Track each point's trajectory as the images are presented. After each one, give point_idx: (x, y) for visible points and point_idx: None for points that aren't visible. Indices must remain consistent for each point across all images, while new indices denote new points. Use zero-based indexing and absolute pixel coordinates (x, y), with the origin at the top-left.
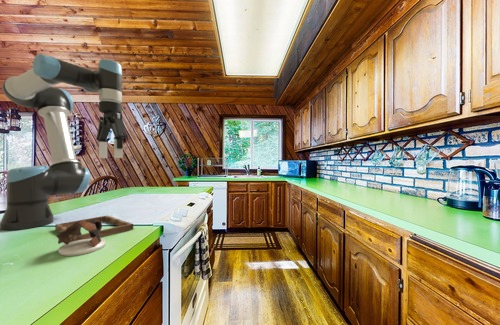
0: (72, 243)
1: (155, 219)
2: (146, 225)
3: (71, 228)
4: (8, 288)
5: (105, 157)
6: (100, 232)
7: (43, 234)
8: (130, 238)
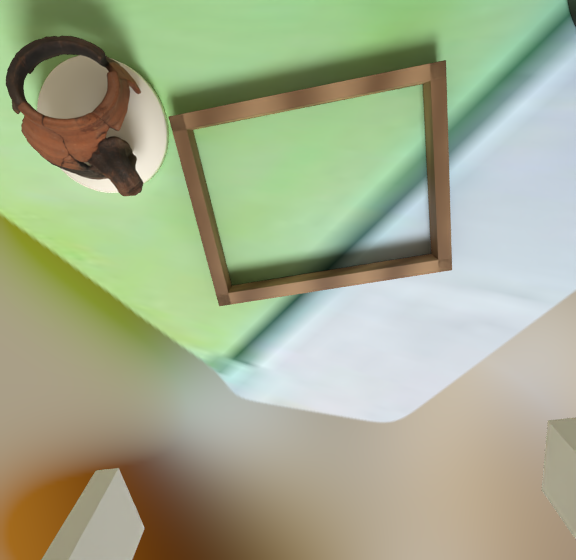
0: (136, 99)
1: (307, 392)
2: (245, 344)
3: (7, 78)
4: None
5: (549, 482)
6: (191, 194)
7: (394, 18)
8: (123, 262)
